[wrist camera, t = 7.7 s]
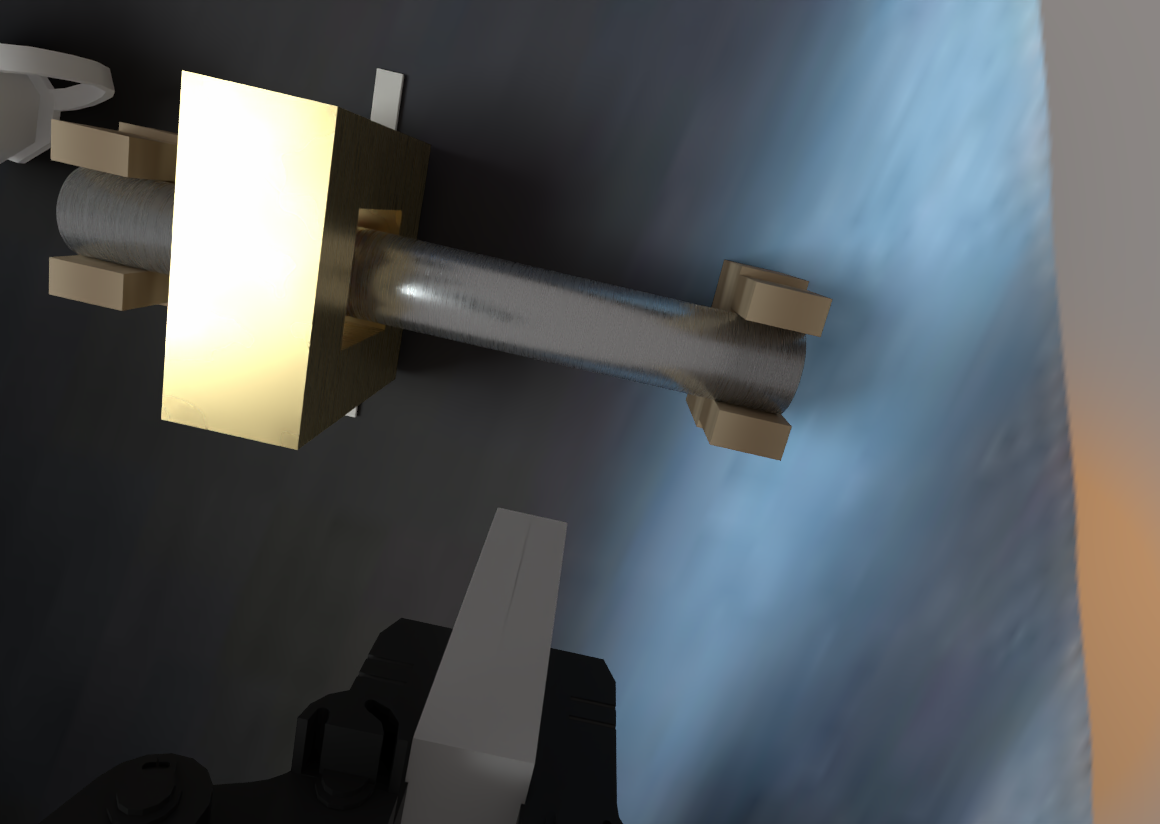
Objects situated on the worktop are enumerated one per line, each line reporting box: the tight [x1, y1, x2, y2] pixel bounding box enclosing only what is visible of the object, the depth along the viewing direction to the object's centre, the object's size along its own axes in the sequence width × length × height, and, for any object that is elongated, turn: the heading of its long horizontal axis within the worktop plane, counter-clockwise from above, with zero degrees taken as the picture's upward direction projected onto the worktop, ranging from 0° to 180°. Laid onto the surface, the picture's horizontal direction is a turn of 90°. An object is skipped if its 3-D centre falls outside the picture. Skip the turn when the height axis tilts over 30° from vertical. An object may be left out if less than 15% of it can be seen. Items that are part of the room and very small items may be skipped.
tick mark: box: [346, 68, 404, 417], centre depth 29 cm, size 1×14×1 cm, turn 168°
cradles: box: [49, 119, 832, 461], centre depth 25 cm, size 24×6×7 cm, turn 77°
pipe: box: [56, 167, 806, 414], centre depth 23 cm, size 24×3×3 cm, turn 77°
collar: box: [161, 70, 431, 450], centre depth 23 cm, size 4×9×9 cm, turn 168°
